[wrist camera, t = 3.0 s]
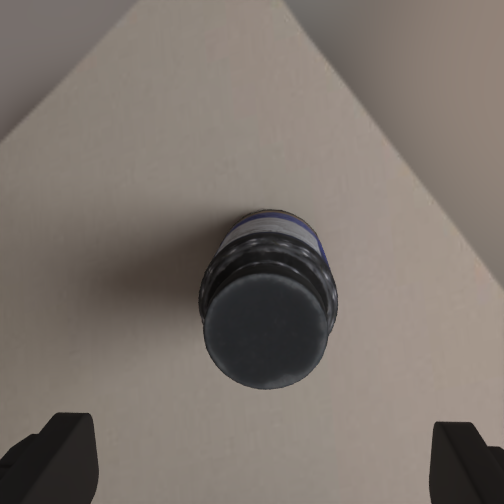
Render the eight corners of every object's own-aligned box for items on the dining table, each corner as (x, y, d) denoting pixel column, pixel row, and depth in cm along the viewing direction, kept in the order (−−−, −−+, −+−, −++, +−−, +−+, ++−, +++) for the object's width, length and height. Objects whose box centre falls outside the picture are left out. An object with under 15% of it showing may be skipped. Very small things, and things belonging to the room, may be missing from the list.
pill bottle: (299, 321, 29) (308, 431, 18) (206, 285, 29) (161, 375, 18) (340, 229, 27) (376, 292, 17) (242, 190, 27) (216, 228, 17)
